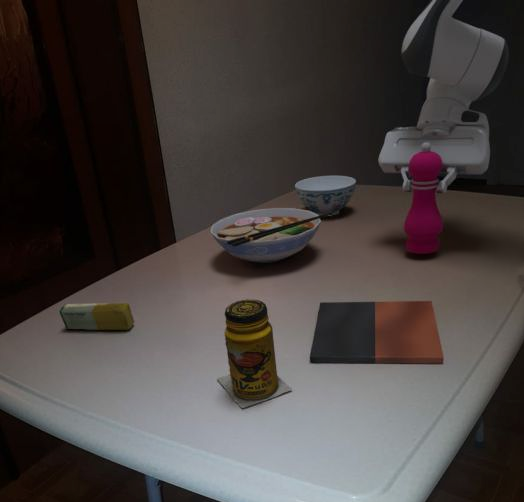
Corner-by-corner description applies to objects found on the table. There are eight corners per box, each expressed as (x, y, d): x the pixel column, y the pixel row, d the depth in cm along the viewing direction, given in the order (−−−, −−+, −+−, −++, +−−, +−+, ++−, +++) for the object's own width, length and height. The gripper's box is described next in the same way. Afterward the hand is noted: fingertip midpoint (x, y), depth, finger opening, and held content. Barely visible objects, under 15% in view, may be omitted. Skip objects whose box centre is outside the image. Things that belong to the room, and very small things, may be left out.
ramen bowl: (284, 231, 132) (281, 197, 128) (349, 254, 115) (348, 215, 111) (191, 260, 120) (185, 223, 116) (248, 289, 103) (243, 247, 99)
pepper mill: (432, 256, 106) (437, 146, 96) (397, 252, 110) (398, 146, 100) (447, 244, 110) (453, 138, 101) (412, 240, 114) (415, 138, 105)
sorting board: (431, 306, 90) (431, 300, 90) (443, 363, 75) (443, 357, 74) (320, 307, 94) (320, 302, 93) (310, 362, 78) (309, 356, 78)
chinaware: (365, 215, 137) (365, 184, 133) (308, 225, 134) (306, 193, 130) (342, 202, 150) (341, 172, 146) (289, 211, 147) (287, 181, 143)
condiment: (242, 409, 70) (230, 324, 64) (216, 379, 77) (204, 300, 71) (292, 391, 73) (286, 308, 67) (263, 363, 79) (255, 286, 73)
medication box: (65, 331, 95) (57, 311, 93) (72, 322, 97) (64, 302, 95) (129, 330, 93) (123, 309, 90) (135, 321, 95) (129, 301, 92)
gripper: (384, 117, 109) (366, 180, 106) (495, 114, 99) (477, 183, 96) (392, 137, 114) (375, 197, 112) (497, 135, 104) (481, 202, 102)
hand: (423, 191), depth 104 cm, fingers closed on pepper mill, 5 cm apart
